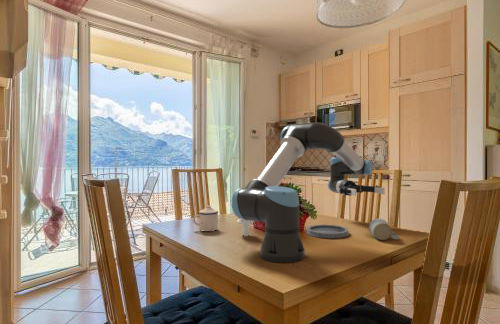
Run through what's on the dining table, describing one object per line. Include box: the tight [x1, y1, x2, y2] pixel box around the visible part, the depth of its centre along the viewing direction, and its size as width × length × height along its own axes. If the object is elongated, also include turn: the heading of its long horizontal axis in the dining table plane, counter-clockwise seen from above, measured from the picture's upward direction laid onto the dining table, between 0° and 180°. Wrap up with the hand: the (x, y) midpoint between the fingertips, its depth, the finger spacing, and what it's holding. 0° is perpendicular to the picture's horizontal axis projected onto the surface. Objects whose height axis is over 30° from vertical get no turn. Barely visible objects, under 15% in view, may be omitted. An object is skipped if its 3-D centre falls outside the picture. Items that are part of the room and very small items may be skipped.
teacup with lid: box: [192, 205, 219, 231], centre depth 142 cm, size 12×9×12 cm
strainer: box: [236, 217, 254, 237], centre depth 131 cm, size 7×7×15 cm
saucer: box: [306, 224, 350, 240], centre depth 133 cm, size 18×18×2 cm
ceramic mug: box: [368, 217, 400, 241], centre depth 122 cm, size 11×8×8 cm
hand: (369, 191), depth 132 cm, fingers open, 13 cm apart
